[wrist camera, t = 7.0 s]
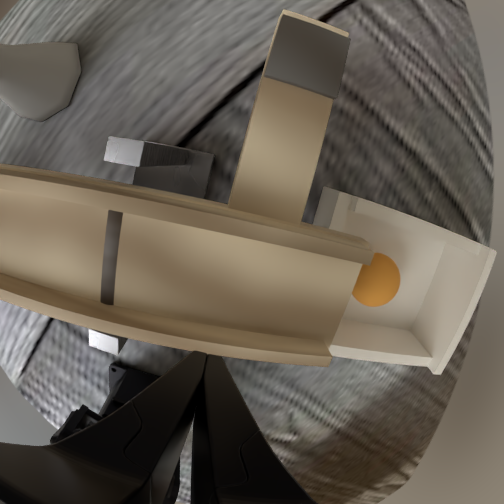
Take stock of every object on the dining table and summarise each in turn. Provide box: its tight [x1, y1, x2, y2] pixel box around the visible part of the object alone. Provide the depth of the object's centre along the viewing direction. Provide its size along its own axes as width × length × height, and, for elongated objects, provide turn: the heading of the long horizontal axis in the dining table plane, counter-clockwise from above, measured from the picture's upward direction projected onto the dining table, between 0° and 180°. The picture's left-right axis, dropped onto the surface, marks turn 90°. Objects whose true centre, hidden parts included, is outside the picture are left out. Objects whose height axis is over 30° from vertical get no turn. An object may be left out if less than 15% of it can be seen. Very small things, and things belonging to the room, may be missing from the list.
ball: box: [352, 253, 400, 307], centre depth 19 cm, size 4×4×4 cm
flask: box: [0, 42, 81, 122], centre depth 12 cm, size 7×7×10 cm
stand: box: [89, 136, 215, 355], centre depth 16 cm, size 10×5×9 cm, turn 166°
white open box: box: [312, 186, 497, 375], centre depth 19 cm, size 10×12×6 cm
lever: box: [0, 9, 375, 367], centre depth 11 cm, size 15×22×6 cm
